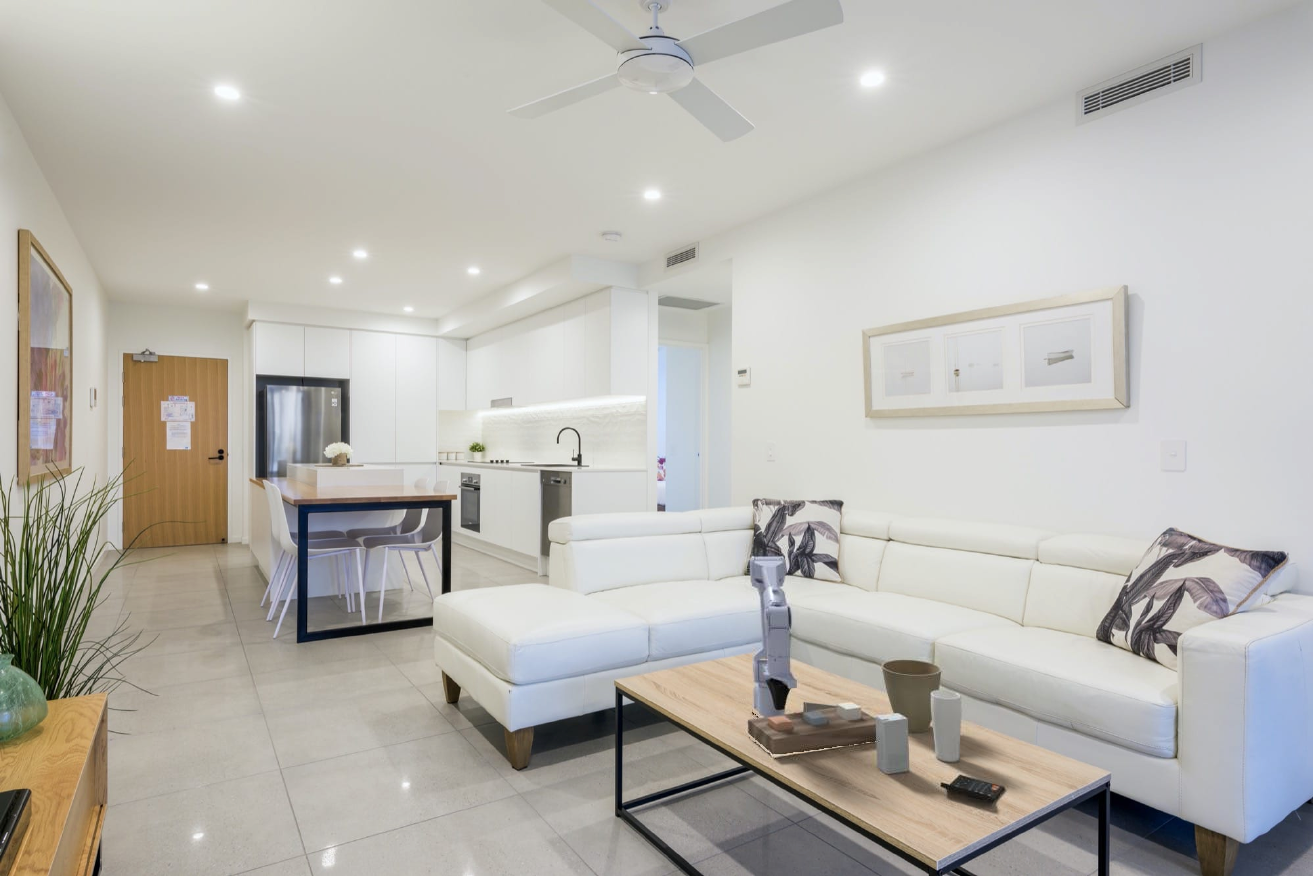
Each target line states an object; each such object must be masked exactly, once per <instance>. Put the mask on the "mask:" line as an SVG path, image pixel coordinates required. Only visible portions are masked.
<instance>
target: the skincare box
mask: <svg viewBox="0 0 1313 876" xmlns="http://www.w3.org/2000/svg"><path fill="white" fill-rule="evenodd" d="M875 718H876V742H875V743H876V768H878V769H879V770H880V771H881V772H882V773H884V774H886V775H891V774H899V773H905V772H910V749H909V747H910V746H909V744H910V743H909V732H908V719H907V718H906V717H904V716H902V715H900V714H898V713H888V714H880V715H879V714H877V715H875Z"/></svg>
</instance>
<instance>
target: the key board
mask: <svg viewBox="0 0 1313 876" xmlns="http://www.w3.org/2000/svg"><path fill="white" fill-rule="evenodd" d="M813 711H819V712H821V713H822V714H824V715H826V716H827V724H822V725H815V726H811V725H809V724H808V723H806V722H805V721H803V713H806V712H813ZM778 716H785V717H786V718H788V719H789V720H791V721H792V729H788V730H781V731H775V730H773V729H772V728H771V727H769V726H768V718H770V717H777V716H770V717H763V718H758V717H757V718H750V719H747V732H748V733H749V734H750V735H751V736H752V737H753V738H755V740H757V741H758V742H759V743H760V744H762V745H763V746H764V747H765V748H766V749H767V750H769V751H770V752H771V753H772V754H787V753H793V752H804V751H810V750H819V749H824V748H832V747H837V746H849V745H854V744H862V743H866V742H875V741H876V717H874V716H872V715H870V714H868V713H867V712H865V711H863V710H861V719H857V720H850V721H845V720H844V719H842V718H840V717H839V716H837V706H836V707H829V708H821V709H815V710H808V711H800V712H793V713H788V714H787V713H785V715H778ZM748 733H747V734H748ZM875 743H876V742H875ZM862 745H863V744H862ZM849 747H850V746H849Z"/></svg>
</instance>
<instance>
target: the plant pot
mask: <svg viewBox="0 0 1313 876" xmlns="http://www.w3.org/2000/svg"><path fill="white" fill-rule="evenodd" d="M881 669H882V674H883V681H884V685H885V689H886V694H887V697H888V700H889V703H890V706H891V710H892V712H893V713H892V714H894V713H898V714H900V715H902V716H904V717H906V718H907V719H908V733H914V732H916V733H925V732H927V731H928V730H929V729H930V727H931V723H932V715H931V692H932V691H936V690H940V684H941V677H942V676H941V675H942V668H941V666H939V665H938V664H935V663H933V662H929V661H925V660H917V659H893V660H892V659H891V660H887V661H886V662H882V664H881Z"/></svg>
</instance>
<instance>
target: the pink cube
mask: <svg viewBox="0 0 1313 876" xmlns="http://www.w3.org/2000/svg"><path fill="white" fill-rule="evenodd" d="M768 726H769V727H771V728H772V729H773V730H775V731H781V730H788V729H792V721H791V720H789V719H788V718H786V717H785V716H777V717H770V718H768Z"/></svg>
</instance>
